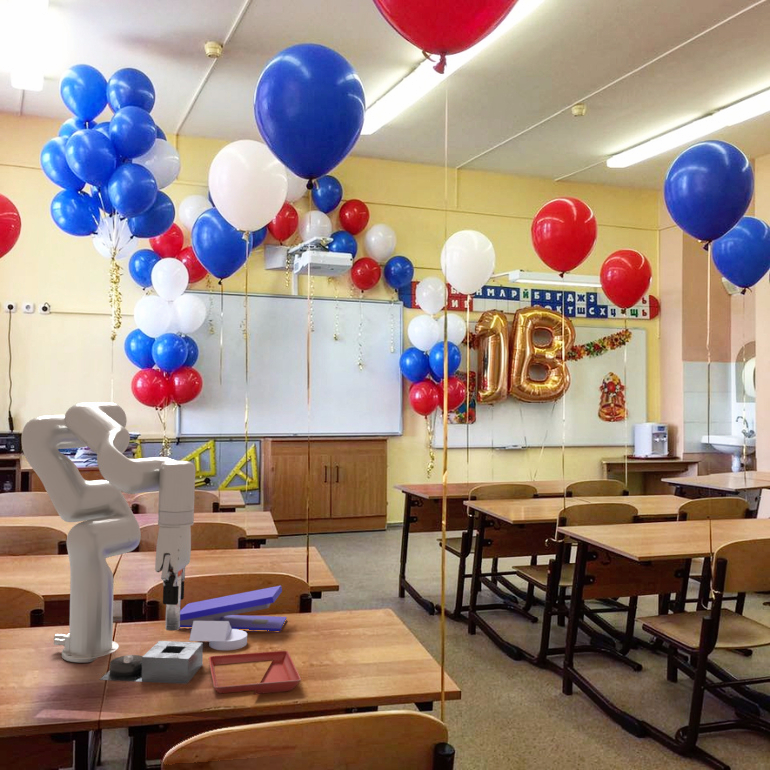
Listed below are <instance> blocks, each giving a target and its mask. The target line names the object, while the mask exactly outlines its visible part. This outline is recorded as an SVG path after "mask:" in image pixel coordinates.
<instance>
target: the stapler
mask: <svg viewBox="0 0 770 770" xmlns="http://www.w3.org/2000/svg"><path fill="white" fill-rule="evenodd" d="M282 588H283V587H282V585H277V586H272V587H267V588H266V587H265V588H262V589H256V590H251V591H245V592H241V593H235V594H230V595H225V596H220V597H215V598H210V599H209V598H208V599H204V600H200V601H194V602H189V603H187V604H186V605H185V606H184V607H182V609H181V608H180V627H192V626H193V621H229V623H230V626H231V628H232V629H249V630H267V631H268V630H269V631H280V630H281V631H282V629H283V628H282V626H283V624H284V622H285V620H286V619H287V616H272V615H271V616H270V615H269V616H268V615H245V614H244V615H243V613H249V612H250V613H251V612H255V611H260V610H266V609H269V608H270V606H271V604H274V603H275V601H276V600H277V599H278V598H279V596H280V595H281V593H282V592H283V589H282ZM240 614H242V615H240ZM286 621H287V620H286ZM285 623H286V622H285ZM284 625H285V624H284ZM283 627H284V626H283ZM281 628H282V629H281ZM281 631H280V632H281Z"/></svg>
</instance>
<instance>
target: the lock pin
mask: <svg viewBox="0 0 770 770" xmlns="http://www.w3.org/2000/svg"><path fill="white" fill-rule="evenodd" d="M172 570H173V569H170V571H172ZM181 575H182V569H181V570H180V571H179V572H178V578H177V586H179V592H178V604H177V605H167V604H165V627H164V628H165V630H166V631H169V632H173V631H174V632H175V631H178V630H179V629H180V610H181V602H182V601H181ZM170 576H172V577H174V575H170ZM180 630H181V629H180Z"/></svg>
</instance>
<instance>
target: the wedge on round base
mask: <svg viewBox="0 0 770 770" xmlns="http://www.w3.org/2000/svg"><path fill="white" fill-rule="evenodd" d="M189 635H190V636H189V639H188V642H208V643H209V644H208V645H209V647H210V648H211V649H214V650H217V651H234V650H235V651H236V650H239V649H242V648H244V647H246V646H247V645H248V633H247V631H243V630H239V629H232V628H231V626H230V623H229V621H193V626H192V629H190V634H189Z"/></svg>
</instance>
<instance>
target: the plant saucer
mask: <svg viewBox="0 0 770 770" xmlns="http://www.w3.org/2000/svg"><path fill="white" fill-rule="evenodd" d="M261 661H271V663H270V665H269V666H268V668H267V670H266V671H265V673H264V675H263V677H262V678H261V680H260V682H257V683H256V682H255V683H244V684H243V683H242V684H233V685H232V684H231V685H219V686H218V681H217V677H216V671H215V670H216V669H215V666H216V665H226V664H227V665H228V664H238V663H250V662H251V663H252V662H261ZM208 662H209V667H210V668H209V669H210V674H211V679H212V685H213V688H214V690H215V691H216V692H217V693H218V694H228V693H240V692H249V691H254V693H253V695H259V694H260V695H261V694H271V693H280V692H290V691H292V690H293V689H294V688H296V687H297V685H298V684H300V682H301V680H302V678H301V676H300V674H299V671H298V669H297V668H296V664H295V663H294V661H293V659H292V656H291V655H290V652H289V651H287V650H277V651H276V650H275V651H261V652H250V653H249V652H247V653H234V654H233V653H232V654H222V655H221V654H220V655H211V656H209V657H208Z"/></svg>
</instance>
